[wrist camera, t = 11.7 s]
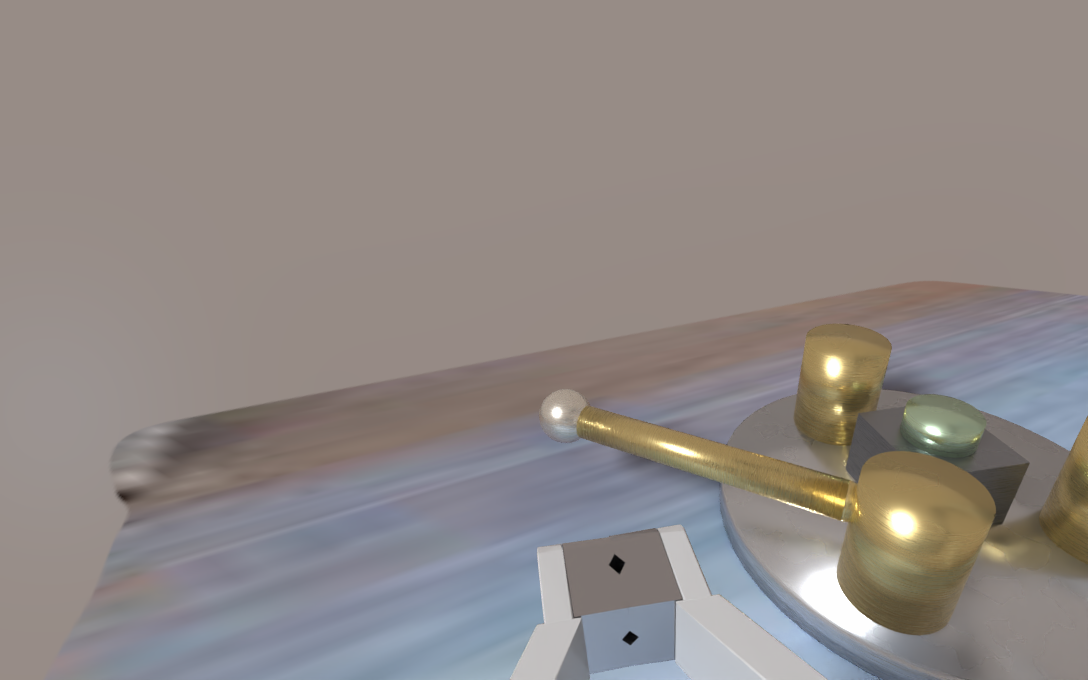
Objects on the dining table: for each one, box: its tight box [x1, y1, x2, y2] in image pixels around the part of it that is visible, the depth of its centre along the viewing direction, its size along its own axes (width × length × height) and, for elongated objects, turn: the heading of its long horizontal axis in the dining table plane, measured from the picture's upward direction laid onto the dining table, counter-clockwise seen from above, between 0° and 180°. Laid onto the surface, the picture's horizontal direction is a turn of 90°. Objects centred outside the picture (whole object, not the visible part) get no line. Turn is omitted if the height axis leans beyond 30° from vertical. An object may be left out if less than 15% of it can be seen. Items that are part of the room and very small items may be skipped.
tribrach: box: [719, 324, 1088, 680], centre depth 28 cm, size 20×20×8 cm
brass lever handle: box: [539, 389, 996, 635], centre depth 27 cm, size 20×4×6 cm, turn 58°
